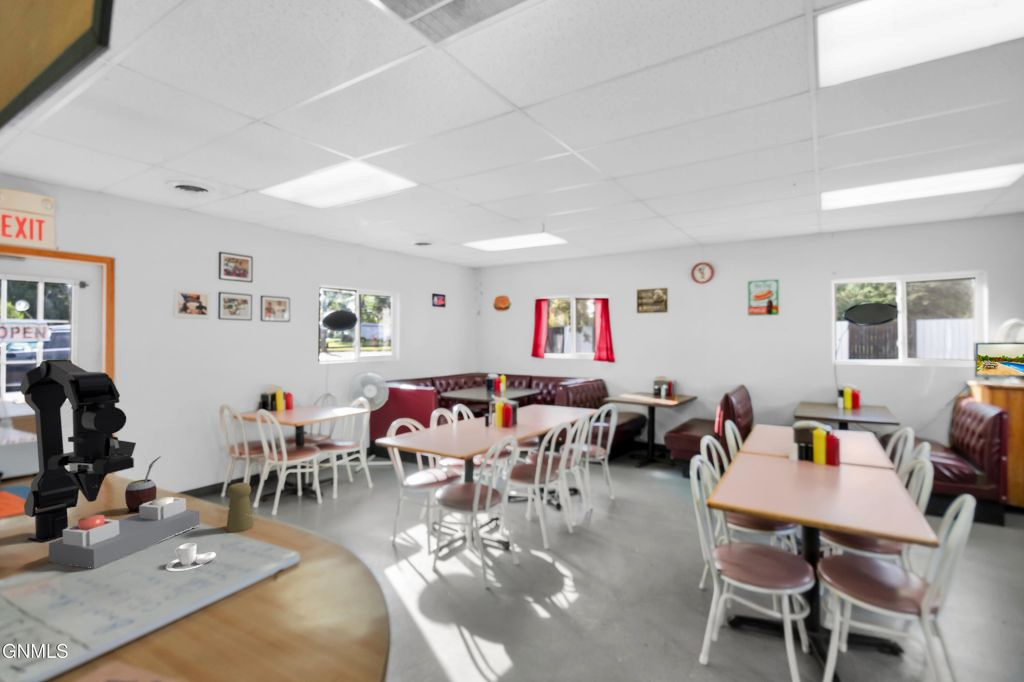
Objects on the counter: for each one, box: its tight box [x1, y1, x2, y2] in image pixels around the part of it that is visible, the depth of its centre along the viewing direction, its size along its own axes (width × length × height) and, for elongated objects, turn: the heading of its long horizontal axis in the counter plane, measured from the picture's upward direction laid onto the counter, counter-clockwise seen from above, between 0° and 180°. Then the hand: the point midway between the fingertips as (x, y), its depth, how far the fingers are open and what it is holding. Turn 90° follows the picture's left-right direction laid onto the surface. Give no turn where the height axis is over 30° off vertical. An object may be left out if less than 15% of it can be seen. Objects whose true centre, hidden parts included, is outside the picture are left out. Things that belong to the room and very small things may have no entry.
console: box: [48, 496, 200, 569], centre depth 116 cm, size 14×24×7 cm, turn 162°
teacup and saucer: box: [165, 542, 217, 572], centre depth 104 cm, size 9×8×4 cm
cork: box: [225, 482, 254, 533], centre depth 124 cm, size 6×6×11 cm
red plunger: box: [77, 514, 105, 531], centre depth 109 cm, size 4×4×3 cm
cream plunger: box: [152, 496, 174, 506], centre depth 124 cm, size 4×4×3 cm
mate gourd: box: [124, 455, 161, 514], centre depth 140 cm, size 8×8×15 cm
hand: (91, 501), depth 109 cm, fingers closed
